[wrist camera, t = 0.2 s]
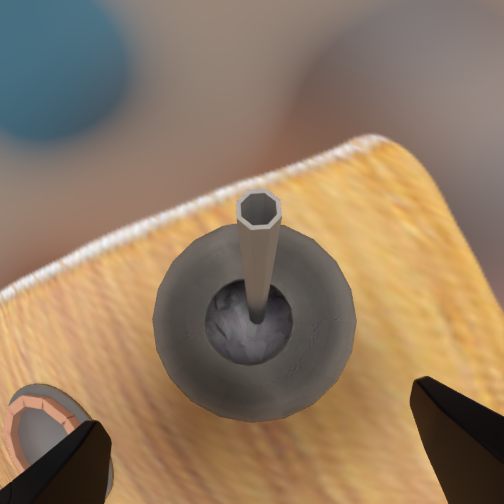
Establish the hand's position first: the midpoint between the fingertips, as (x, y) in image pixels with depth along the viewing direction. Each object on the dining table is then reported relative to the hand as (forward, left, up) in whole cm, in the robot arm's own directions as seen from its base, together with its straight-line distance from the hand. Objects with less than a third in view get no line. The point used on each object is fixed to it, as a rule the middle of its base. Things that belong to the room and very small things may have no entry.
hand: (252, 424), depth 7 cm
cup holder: (+4, +21, -15) cm, 26 cm away
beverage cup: (+3, -2, -15) cm, 15 cm away
